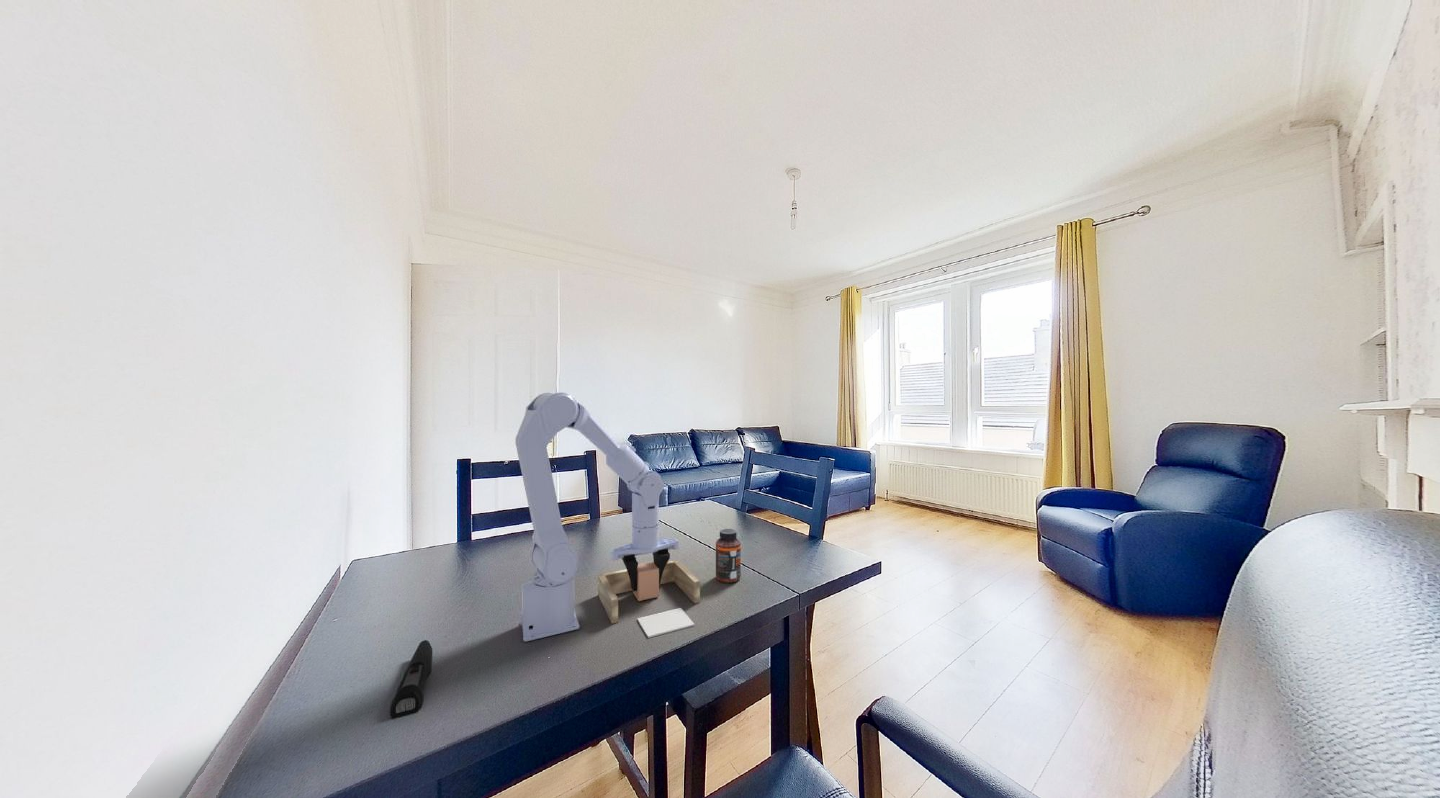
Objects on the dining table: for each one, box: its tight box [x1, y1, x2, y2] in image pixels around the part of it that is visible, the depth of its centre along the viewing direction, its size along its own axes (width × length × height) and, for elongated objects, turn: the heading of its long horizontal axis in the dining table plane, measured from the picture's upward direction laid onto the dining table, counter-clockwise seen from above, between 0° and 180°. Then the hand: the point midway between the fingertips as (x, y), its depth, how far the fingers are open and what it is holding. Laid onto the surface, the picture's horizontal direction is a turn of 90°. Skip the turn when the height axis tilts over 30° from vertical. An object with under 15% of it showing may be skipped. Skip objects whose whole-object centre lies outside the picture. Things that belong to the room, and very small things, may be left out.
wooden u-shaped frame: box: [597, 559, 701, 624], centre depth 92 cm, size 18×13×4 cm
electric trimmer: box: [389, 639, 434, 720], centre depth 65 cm, size 4×16×3 cm, turn 26°
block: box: [632, 561, 660, 602], centre depth 93 cm, size 4×4×6 cm
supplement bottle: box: [715, 528, 742, 584], centre depth 102 cm, size 6×6×11 cm
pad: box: [636, 607, 695, 639], centre depth 82 cm, size 9×7×1 cm
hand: (645, 586), depth 93 cm, fingers closed on block, 4 cm apart
